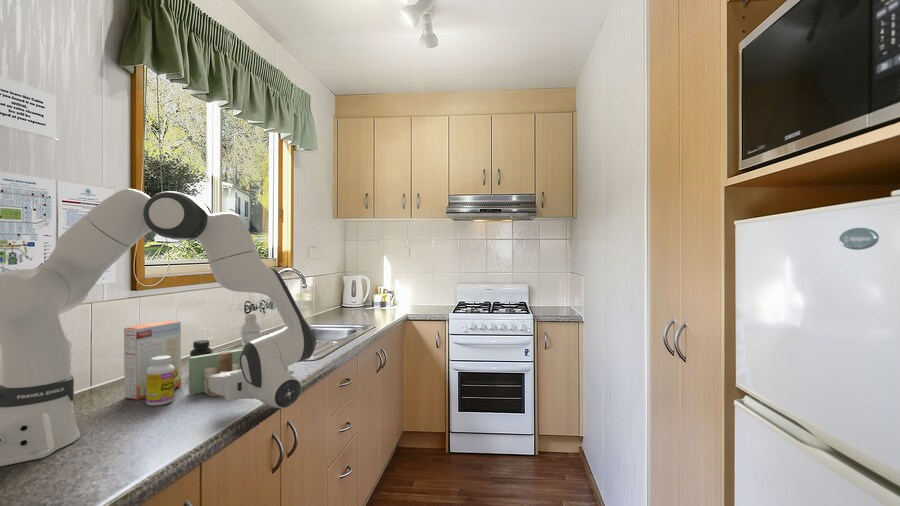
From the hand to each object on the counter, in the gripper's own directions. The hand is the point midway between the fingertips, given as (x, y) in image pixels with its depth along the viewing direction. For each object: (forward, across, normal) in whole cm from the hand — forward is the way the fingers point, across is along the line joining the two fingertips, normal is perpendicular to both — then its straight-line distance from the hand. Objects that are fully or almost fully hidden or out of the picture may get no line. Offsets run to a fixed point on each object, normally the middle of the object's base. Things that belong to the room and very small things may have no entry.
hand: (239, 371), depth 125 cm
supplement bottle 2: (+35, -1, +8) cm, 36 cm away
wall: (+16, 0, +8) cm, 18 cm away
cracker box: (+26, +15, +8) cm, 31 cm away
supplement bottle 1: (+14, +16, +8) cm, 23 cm away
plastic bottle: (+31, -16, +9) cm, 36 cm away
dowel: (+10, 0, +8) cm, 13 cm away
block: (+11, 0, +8) cm, 14 cm away
